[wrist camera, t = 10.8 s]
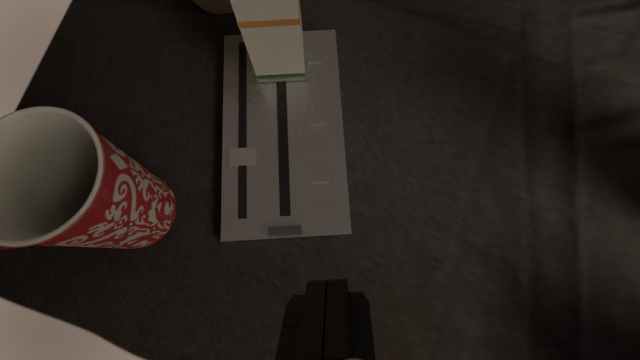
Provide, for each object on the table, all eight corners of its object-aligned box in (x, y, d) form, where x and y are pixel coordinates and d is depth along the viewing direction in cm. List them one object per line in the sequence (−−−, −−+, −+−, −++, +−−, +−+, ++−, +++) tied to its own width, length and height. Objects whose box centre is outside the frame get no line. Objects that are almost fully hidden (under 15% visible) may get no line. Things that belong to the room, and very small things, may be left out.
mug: (170, 152, 35) (80, 83, 22) (199, 233, 33) (119, 208, 20) (50, 203, 34) (-120, 161, 21) (72, 289, 32) (-102, 302, 19)
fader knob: (303, 38, 36) (295, -46, 27) (305, 73, 35) (297, -2, 26) (255, 41, 36) (230, -42, 27) (255, 76, 35) (229, 2, 26)
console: (334, 38, 39) (335, 22, 36) (350, 235, 33) (352, 232, 31) (228, 44, 39) (221, 29, 36) (225, 242, 33) (217, 240, 30)
